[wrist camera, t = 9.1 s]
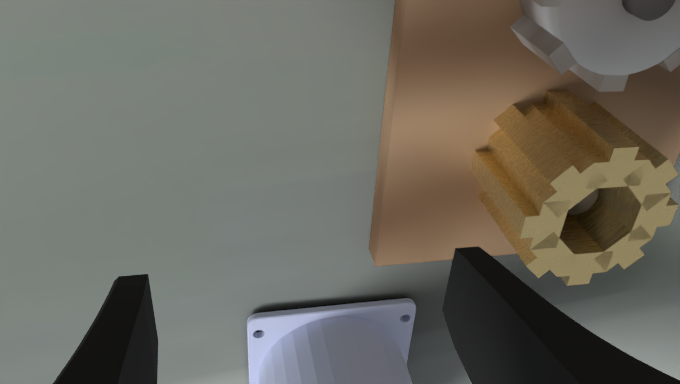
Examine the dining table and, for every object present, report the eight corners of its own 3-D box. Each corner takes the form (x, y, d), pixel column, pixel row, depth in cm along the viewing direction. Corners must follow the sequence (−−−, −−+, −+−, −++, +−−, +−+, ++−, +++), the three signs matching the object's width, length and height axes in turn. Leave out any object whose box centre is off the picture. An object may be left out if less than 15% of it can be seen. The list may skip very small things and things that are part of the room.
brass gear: (584, 209, 27) (646, 277, 23) (460, 219, 26) (505, 292, 22) (625, 87, 23) (705, 143, 20) (485, 92, 22) (543, 152, 19)
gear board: (627, 227, 30) (690, 291, 26) (368, 248, 27) (397, 323, 23) (802, -217, 20) (945, -217, 16) (421, -250, 17) (485, -259, 13)
